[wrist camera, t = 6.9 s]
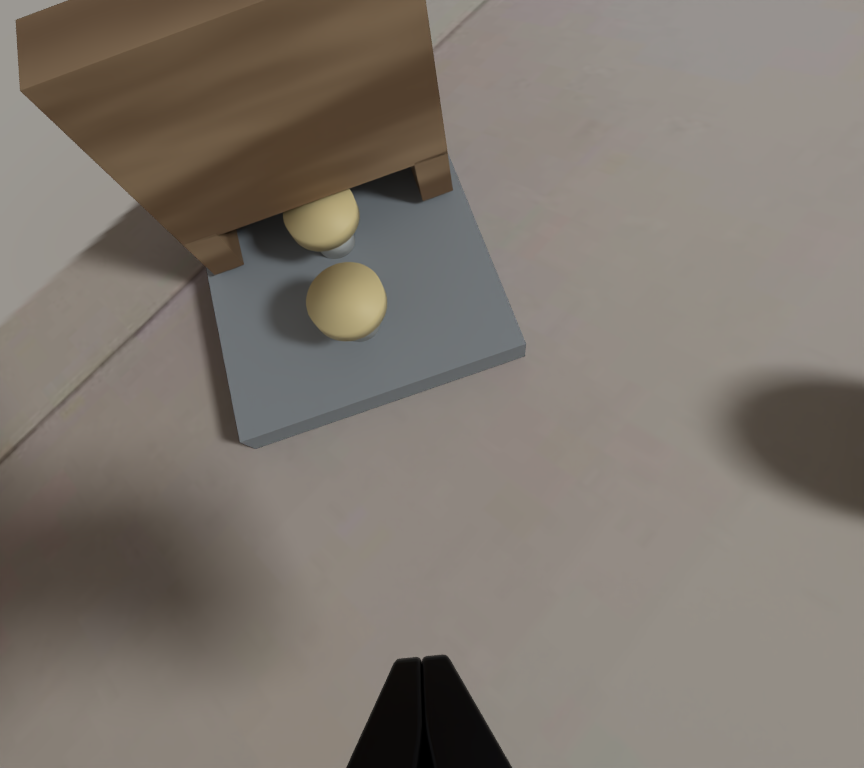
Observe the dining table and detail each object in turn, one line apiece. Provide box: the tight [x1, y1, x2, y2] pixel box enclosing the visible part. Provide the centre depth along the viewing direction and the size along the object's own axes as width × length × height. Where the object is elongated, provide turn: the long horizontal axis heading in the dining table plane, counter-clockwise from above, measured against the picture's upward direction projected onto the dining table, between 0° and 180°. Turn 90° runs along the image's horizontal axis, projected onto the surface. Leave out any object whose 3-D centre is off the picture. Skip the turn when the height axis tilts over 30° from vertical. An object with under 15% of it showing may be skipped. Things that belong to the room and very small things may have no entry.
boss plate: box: [206, 155, 526, 449], centre depth 23 cm, size 13×13×6 cm
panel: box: [16, 0, 453, 275], centre depth 20 cm, size 3×12×11 cm, turn 108°
